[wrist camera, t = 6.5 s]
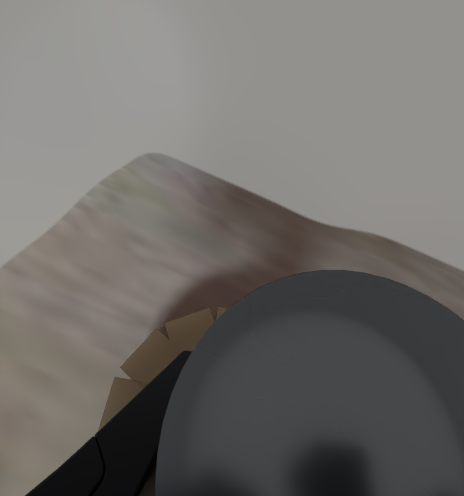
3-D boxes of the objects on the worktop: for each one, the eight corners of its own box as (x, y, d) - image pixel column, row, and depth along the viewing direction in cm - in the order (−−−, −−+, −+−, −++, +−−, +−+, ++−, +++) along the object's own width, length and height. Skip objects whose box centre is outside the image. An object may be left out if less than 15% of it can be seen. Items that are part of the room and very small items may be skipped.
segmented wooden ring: (354, 492, 19) (388, 510, 15) (148, 600, 16) (131, 653, 13) (270, 301, 24) (281, 282, 20) (101, 362, 21) (79, 352, 17)
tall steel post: (308, 456, 13) (691, 628, 3) (216, 499, 13) (248, 979, 2) (270, 360, 15) (417, 233, 4) (187, 392, 14) (115, 333, 4)
